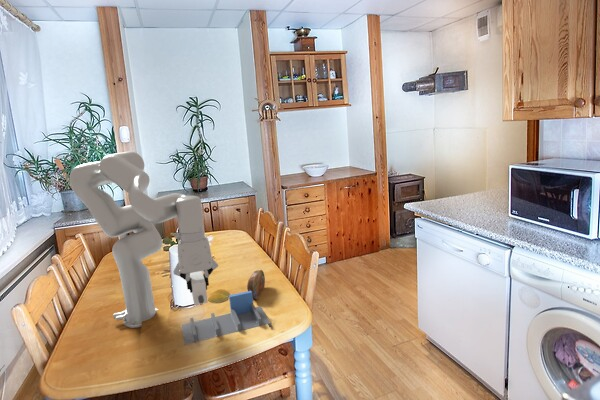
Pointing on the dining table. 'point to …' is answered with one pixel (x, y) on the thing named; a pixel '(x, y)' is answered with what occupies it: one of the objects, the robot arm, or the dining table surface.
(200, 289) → the cable plug
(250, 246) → the dining table surface
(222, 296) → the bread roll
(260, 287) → the brown flat oval slab
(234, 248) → the dining table surface
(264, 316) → the board
